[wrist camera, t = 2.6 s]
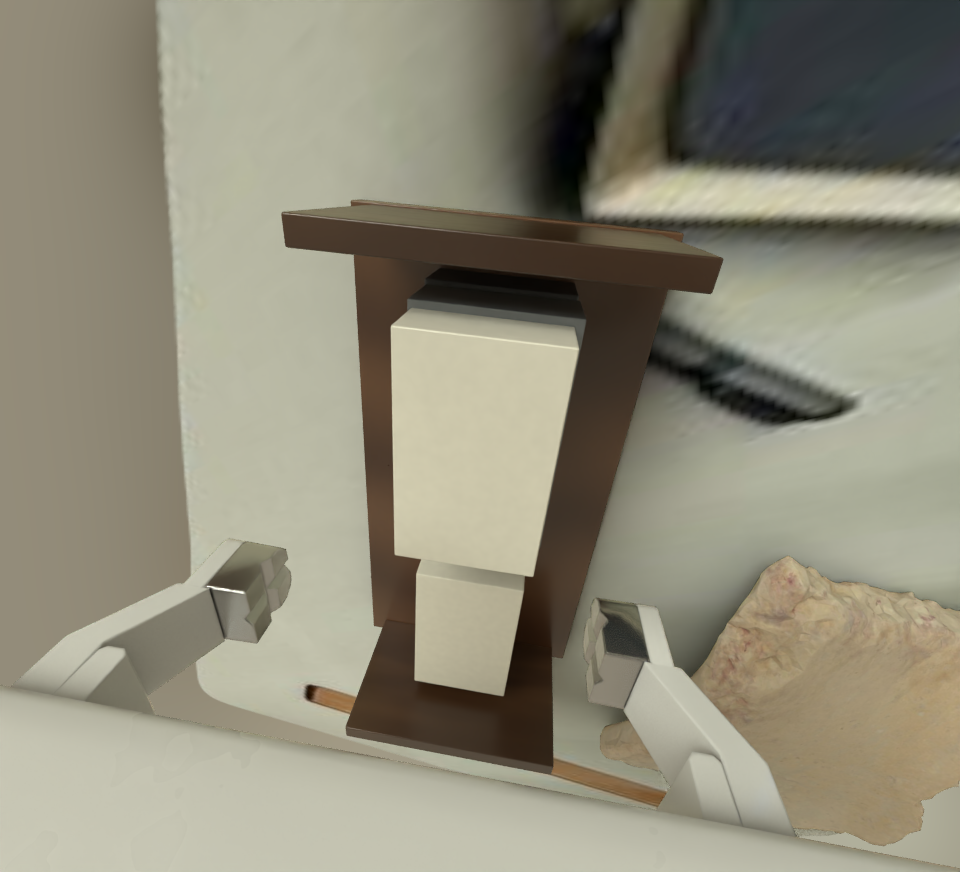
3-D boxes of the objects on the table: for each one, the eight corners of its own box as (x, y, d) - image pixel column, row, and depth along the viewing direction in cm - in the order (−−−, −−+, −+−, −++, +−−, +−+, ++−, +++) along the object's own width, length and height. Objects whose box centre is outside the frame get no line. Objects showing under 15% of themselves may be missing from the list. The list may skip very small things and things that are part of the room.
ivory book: (410, 307, 16) (390, 325, 14) (575, 326, 16) (579, 348, 14) (409, 518, 21) (394, 555, 19) (534, 537, 21) (533, 577, 18)
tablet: (1028, 618, 29) (764, 537, 26) (1172, 749, 23) (844, 658, 20) (776, 764, 42) (582, 719, 39) (824, 873, 35) (597, 828, 33)
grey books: (439, 267, 21) (404, 292, 16) (577, 282, 21) (587, 313, 15) (432, 462, 27) (404, 528, 21) (541, 478, 26) (539, 549, 21)
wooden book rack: (359, 199, 21) (247, 204, 13) (677, 231, 20) (763, 257, 12) (378, 613, 36) (331, 733, 28) (562, 645, 35) (566, 779, 27)
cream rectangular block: (434, 515, 29) (414, 573, 24) (527, 529, 28) (524, 591, 24) (429, 619, 34) (412, 682, 29) (508, 632, 33) (503, 698, 29)
